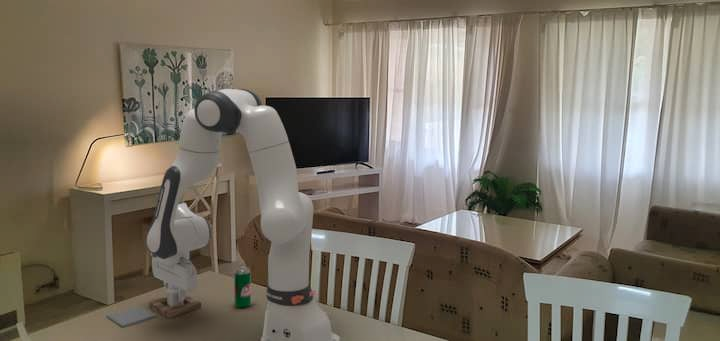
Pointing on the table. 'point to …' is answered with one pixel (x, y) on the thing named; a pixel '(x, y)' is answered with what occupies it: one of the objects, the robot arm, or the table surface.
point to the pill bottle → (173, 297)
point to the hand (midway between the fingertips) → (175, 297)
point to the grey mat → (131, 316)
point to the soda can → (242, 287)
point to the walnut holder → (168, 312)
